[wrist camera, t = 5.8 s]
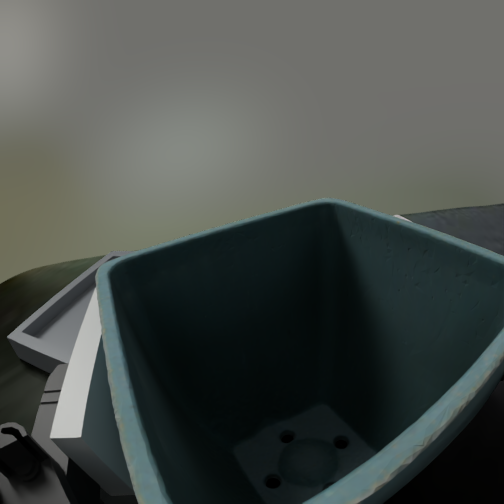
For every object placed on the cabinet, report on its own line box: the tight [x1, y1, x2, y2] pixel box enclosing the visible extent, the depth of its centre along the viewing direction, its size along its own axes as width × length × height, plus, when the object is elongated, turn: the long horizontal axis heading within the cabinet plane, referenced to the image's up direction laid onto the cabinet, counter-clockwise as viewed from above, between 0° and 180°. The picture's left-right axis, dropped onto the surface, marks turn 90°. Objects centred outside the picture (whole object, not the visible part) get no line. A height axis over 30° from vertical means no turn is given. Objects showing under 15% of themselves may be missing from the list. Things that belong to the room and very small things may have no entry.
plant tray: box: [7, 251, 136, 374], centre depth 21 cm, size 14×14×2 cm
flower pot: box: [95, 198, 504, 504], centre depth 9 cm, size 9×9×9 cm
